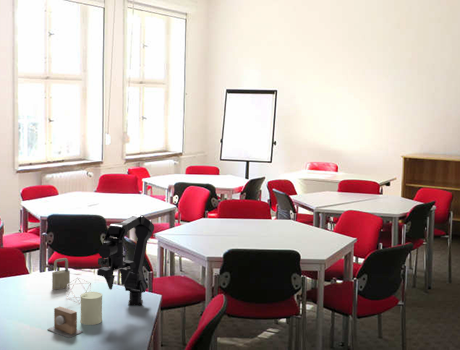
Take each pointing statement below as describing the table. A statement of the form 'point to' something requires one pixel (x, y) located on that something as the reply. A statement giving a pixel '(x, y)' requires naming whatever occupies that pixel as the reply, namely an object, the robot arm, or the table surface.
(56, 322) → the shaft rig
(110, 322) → the table surface
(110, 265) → the robot arm
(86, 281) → the geometric polyhedron
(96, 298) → the can
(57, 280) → the padlock
